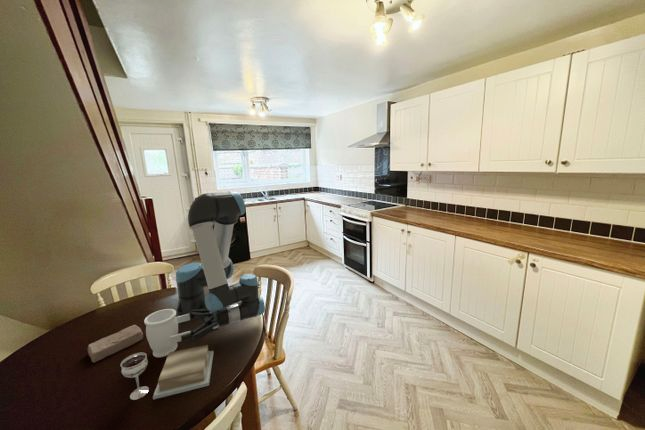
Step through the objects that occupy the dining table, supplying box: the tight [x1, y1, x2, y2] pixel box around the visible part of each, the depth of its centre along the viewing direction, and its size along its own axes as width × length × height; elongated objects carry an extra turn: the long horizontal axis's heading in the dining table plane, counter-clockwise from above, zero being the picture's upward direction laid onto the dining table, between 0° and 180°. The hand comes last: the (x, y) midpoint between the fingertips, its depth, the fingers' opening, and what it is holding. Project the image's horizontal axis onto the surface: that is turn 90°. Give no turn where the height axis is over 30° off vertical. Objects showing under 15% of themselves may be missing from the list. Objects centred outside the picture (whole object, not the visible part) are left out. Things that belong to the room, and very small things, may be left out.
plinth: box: [157, 344, 210, 391], centre depth 88 cm, size 13×13×4 cm
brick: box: [87, 324, 144, 363], centre depth 103 cm, size 17×8×5 cm, turn 143°
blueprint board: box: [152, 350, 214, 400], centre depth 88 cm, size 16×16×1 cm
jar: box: [143, 308, 179, 358], centre depth 99 cm, size 11×10×15 cm
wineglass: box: [120, 351, 150, 401], centre depth 80 cm, size 7×7×12 cm
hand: (171, 330), depth 99 cm, fingers open, 13 cm apart
